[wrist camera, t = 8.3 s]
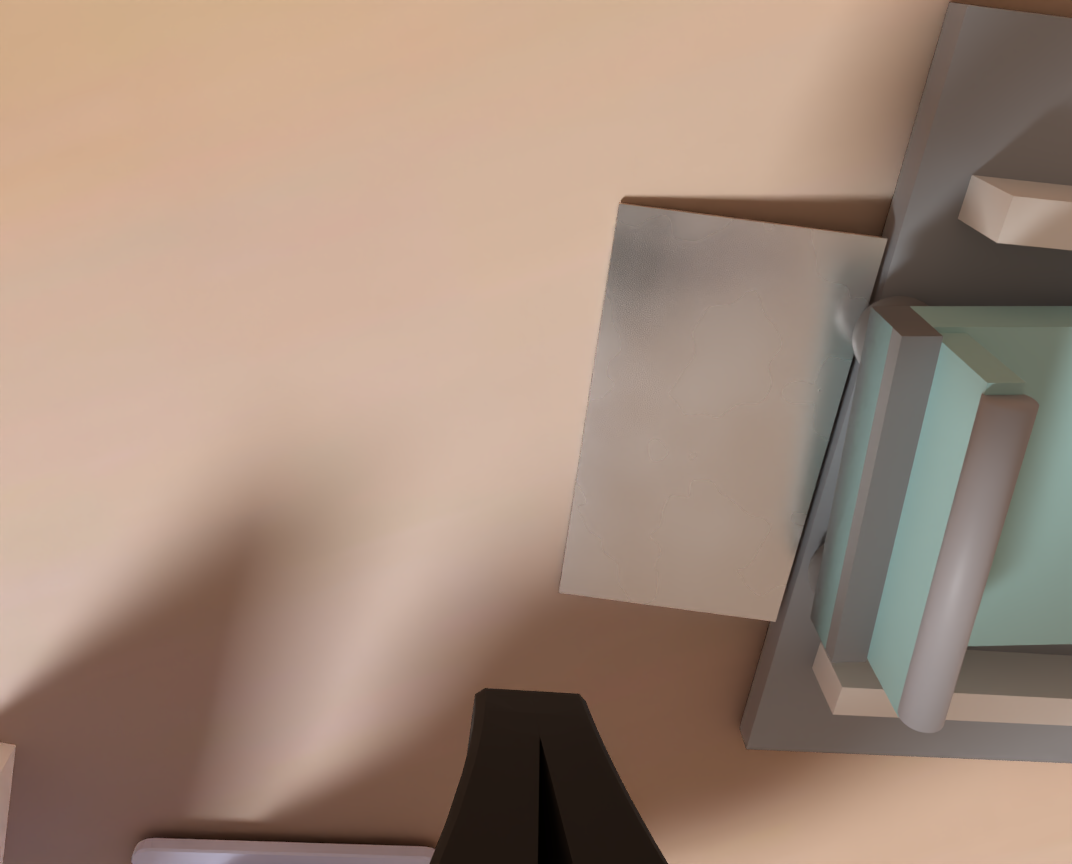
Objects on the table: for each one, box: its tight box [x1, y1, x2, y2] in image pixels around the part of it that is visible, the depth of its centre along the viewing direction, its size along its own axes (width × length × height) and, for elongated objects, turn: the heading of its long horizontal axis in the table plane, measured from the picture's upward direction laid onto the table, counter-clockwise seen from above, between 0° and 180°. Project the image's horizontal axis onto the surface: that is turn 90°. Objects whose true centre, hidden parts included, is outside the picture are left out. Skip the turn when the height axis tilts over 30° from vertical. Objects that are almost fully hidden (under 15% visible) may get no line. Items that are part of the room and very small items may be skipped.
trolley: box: [808, 296, 1072, 733], centre depth 18 cm, size 7×8×5 cm
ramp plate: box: [559, 202, 887, 622], centre depth 20 cm, size 9×5×1 cm, turn 173°
